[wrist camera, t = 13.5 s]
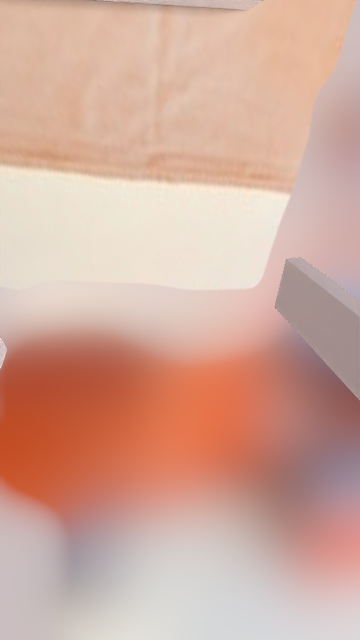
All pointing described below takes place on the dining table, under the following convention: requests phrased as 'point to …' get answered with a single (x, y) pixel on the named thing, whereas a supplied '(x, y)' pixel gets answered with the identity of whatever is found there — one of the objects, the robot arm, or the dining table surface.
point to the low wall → (201, 3)
